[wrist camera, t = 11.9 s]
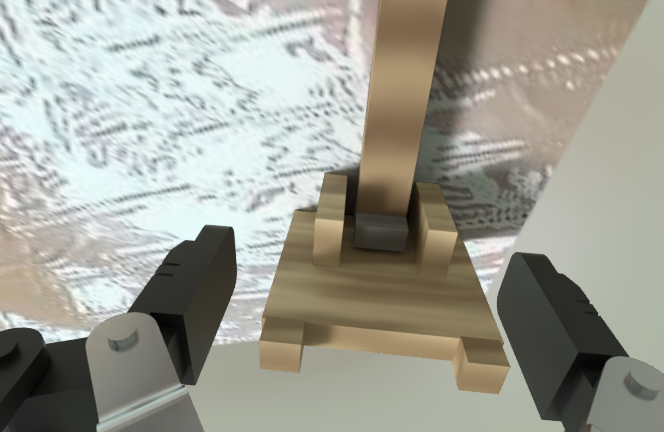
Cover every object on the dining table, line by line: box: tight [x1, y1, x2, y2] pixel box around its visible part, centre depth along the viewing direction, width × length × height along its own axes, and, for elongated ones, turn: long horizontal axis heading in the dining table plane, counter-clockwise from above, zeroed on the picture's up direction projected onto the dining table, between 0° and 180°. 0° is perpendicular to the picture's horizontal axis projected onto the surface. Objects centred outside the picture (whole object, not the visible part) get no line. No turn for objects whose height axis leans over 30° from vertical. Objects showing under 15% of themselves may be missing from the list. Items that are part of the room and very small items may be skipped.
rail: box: [353, 0, 447, 252], centre depth 30 cm, size 18×4×6 cm, turn 176°
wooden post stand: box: [259, 173, 510, 394], centre depth 30 cm, size 6×15×16 cm, turn 86°
